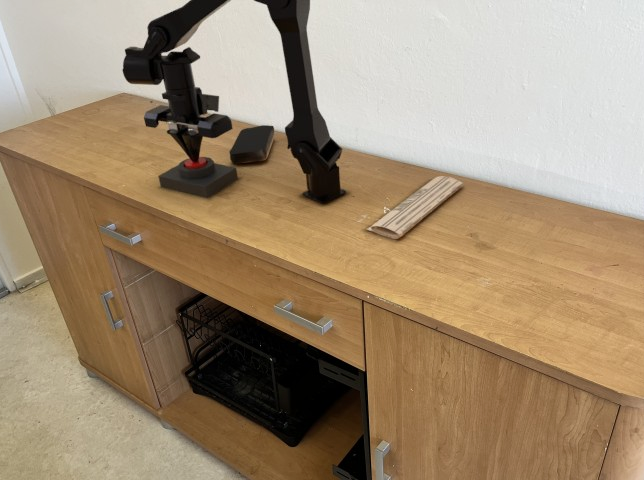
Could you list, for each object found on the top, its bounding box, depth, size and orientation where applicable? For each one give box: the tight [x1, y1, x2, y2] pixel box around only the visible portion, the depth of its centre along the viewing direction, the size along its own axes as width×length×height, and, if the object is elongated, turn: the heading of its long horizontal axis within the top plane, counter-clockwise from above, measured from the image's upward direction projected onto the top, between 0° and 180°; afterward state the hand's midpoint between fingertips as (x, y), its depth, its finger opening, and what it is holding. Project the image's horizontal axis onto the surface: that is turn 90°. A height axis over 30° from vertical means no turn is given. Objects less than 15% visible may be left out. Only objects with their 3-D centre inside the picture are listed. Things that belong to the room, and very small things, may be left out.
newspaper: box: [366, 175, 464, 240], centre depth 116 cm, size 24×7×2 cm, turn 143°
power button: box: [185, 156, 207, 169], centre depth 129 cm, size 4×4×2 cm
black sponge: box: [229, 124, 275, 165], centre depth 142 cm, size 16×8×4 cm, turn 177°
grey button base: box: [158, 156, 239, 199], centre depth 130 cm, size 13×10×4 cm
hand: (195, 161), depth 128 cm, fingers closed, pressing on power button
